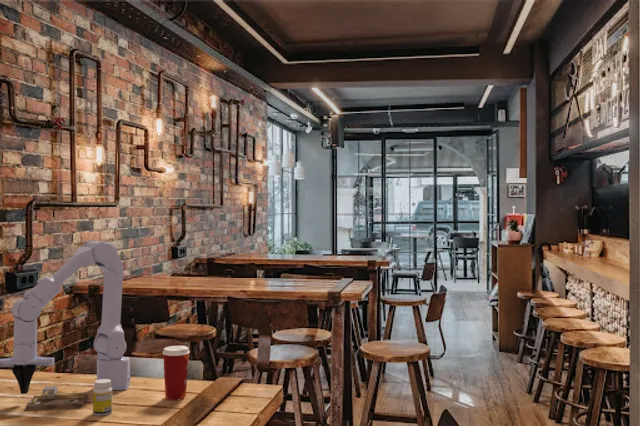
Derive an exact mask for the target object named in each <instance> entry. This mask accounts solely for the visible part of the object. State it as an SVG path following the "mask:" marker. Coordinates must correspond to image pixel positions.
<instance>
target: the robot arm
mask: <svg viewBox="0 0 640 426" xmlns="http://www.w3.org/2000/svg"><path fill="white" fill-rule="evenodd" d="M118 251H119V250H118V248H117V247H116V246H114V244H112V243H111V242H109V241H106V240H104V241H99V240H93V239H92V240H88V241H86V242H85V243H84V244H83V246H80V247H79V248H77V250H76V251H75V252H74V254H73V255H72V256H70V257H69V258H68V259H67V261H66V262H64V264H63V265H62V266H61V267H60V268H58V270H57V271H56V272H55V273H54V274H53V275H52V276H50V277H43V278H42V279H41V278H40V279H38V280H37V281H36V283H37V284H36V285H35V286H34V287H33V288H31V290H29V291H28V292H25V293H24V294H23V295H22V296H23V297H22V298H18V299H17V300H15V302H14V303H12V307H11V308H10V314H11V315H12V316H13V317H14V318H13V319H14V321H13V357H7V358H0V368H3V367H4V368H6V367H9V368H11V367H12V368H13V369H12V370H11V371H12V374H13V375H14V377H15V378H16V381H17V384H18V387H19V391H20V394H21V395H27V394H28V393H29V390H30V385H31V381H32V378H33V376H34V375H35V372H36V370H37V368H38V367H42V366H45V367H46V366H48V367H53V366H54V365H55V357H47V356H38V355H37V354H38V348H37V347H38V318H39V317H40V316H41V313H42V309H43V308H45V306H47V304H49V303H50V302H51V301H52V300H53V299H54V298H55V297H56V296H57V295H58V294H59V293H60V292H61V285H62V284H64V283H65V282H66V281H67V280H69V279H70V278H71V277H72V276H73V275H75V274H76V273H77V272H78V271H79V270H81V268H83V267H85V266H91V265H96V266H97V267H98V268H99V269H101V271H103V273H104V276H103V291H102V307H101V308H102V309H101V324H100V326H99V327H98V328H97V332H96V337H95V339H94V340H93V349H94V350H95V351H96V352H97V355H96V380H100V379H109V380H111V386H110V387H111V388H112V391H116V390H117V391H124V390H128V388H129V386H130V384H131V359H130V357H129V356H124V354H125V353H126V351H127V342H126V340H125V332H124V330H123V328H122V325H121V318H122V300H123V299H122V298H123V284H124V283H123V281H124V264H123V261H122V260H121V258H120V256H119V253H118ZM94 389H95V386H94V388H93V389H92V391H93V390H94Z"/></svg>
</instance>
